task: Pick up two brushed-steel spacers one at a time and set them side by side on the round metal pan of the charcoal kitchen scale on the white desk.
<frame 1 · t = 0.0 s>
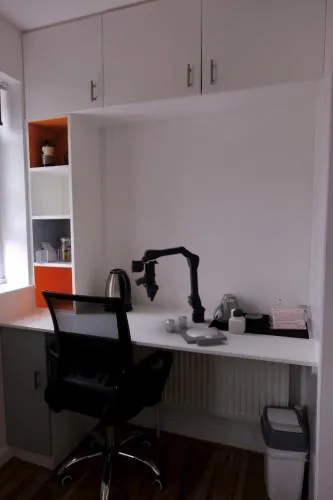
hand: (150, 299, 183), 15 cm above the table, tool pointing down, fingers open, 9 cm apart
medicine bottle: (236, 332, 172), on the table
scale: (202, 336, 165), on the table
spacer a: (182, 327, 179), on the table
spacer b: (170, 331, 173), on the table
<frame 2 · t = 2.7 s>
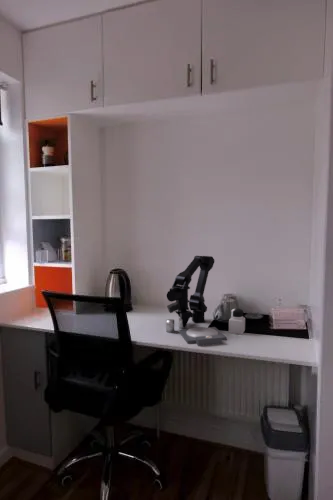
hand: (182, 325, 179), 1 cm above the table, tool pointing down, fingers closed on spacer a, 4 cm apart
spacer a: (182, 327, 179), on the table, touching gripper
everything else where it was.
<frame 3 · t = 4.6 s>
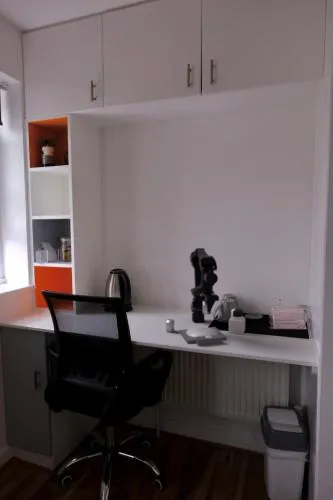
hand: (207, 311, 167), 12 cm above the table, tool pointing down, fingers closed on spacer a, 4 cm apart
spacer a: (207, 313, 167), point 11 cm above the table, touching gripper
everything else where it was.
when the fingers open (4 cm above the table, at t = 6.6 s): spacer a stays where it is, resting on scale.
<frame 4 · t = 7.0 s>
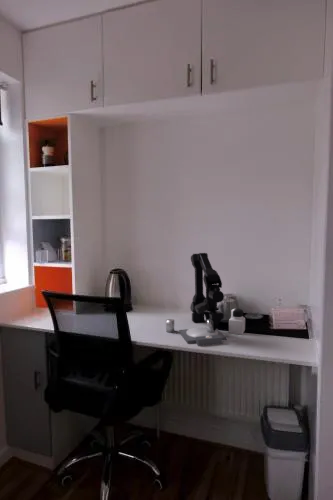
hand: (211, 327, 166), 4 cm above the table, tool pointing down, fingers open, 8 cm apart
spacer a: (211, 331, 166), point 2 cm above the table, touching scale
everything else where it was.
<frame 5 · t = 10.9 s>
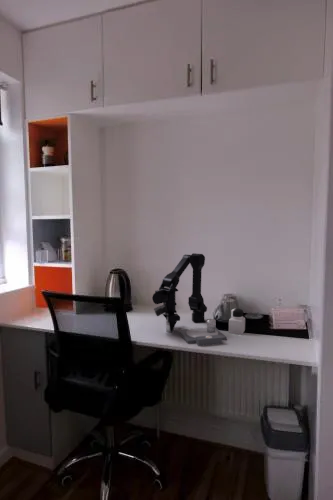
hand: (170, 329, 173), 1 cm above the table, tool pointing down, fingers closed on spacer b, 4 cm apart
spacer b: (170, 331, 173), on the table, touching gripper
everything else where it was.
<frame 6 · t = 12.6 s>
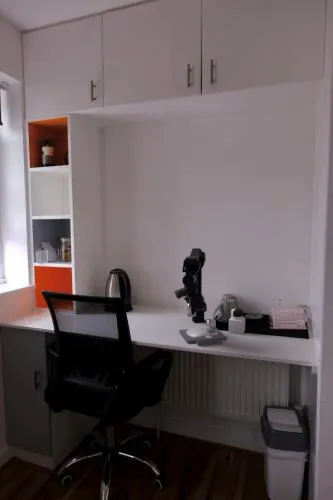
hand: (191, 313, 163), 12 cm above the table, tool pointing down, fingers closed on spacer b, 4 cm apart
spacer b: (191, 315, 163), point 11 cm above the table, touching gripper
everything else where it was.
when the fingers open (4 cm above the table, at t = 14.5 s): spacer b stays where it is, resting on scale.
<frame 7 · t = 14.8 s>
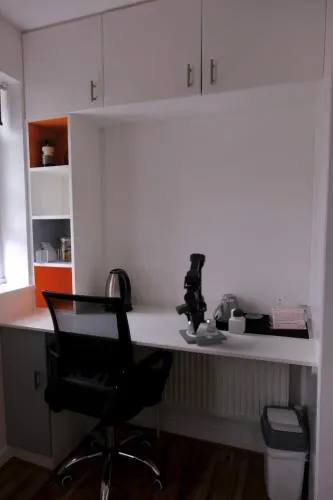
hand: (192, 329, 164), 4 cm above the table, tool pointing down, fingers open, 8 cm apart
spacer b: (192, 333, 164), point 2 cm above the table, touching scale
everything else where it was.
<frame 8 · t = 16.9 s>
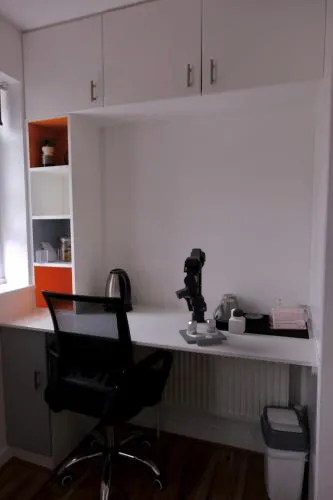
hand: (192, 313, 163), 12 cm above the table, tool pointing down, fingers open, 9 cm apart
nothing on the table moved.
at the end: spacer a 0.1 cm from the target spot on the scale, point 2.0 cm above the scale's base; spacer b 0.1 cm from the target spot on the scale, point 2.0 cm above the scale's base; spacer b tilted 0° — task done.
